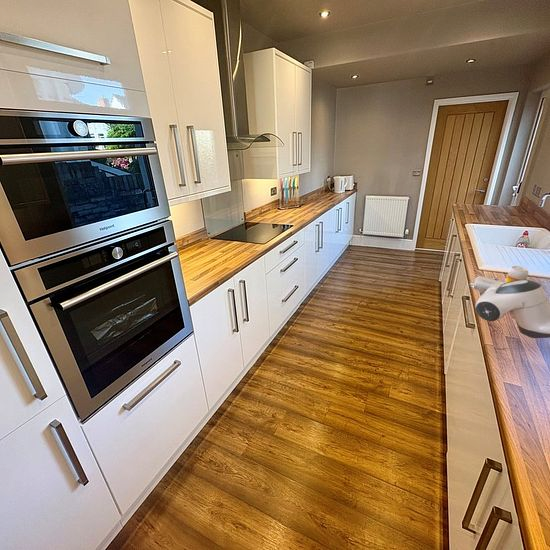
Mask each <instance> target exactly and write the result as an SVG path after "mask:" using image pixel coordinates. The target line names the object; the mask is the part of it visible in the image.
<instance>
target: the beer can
mask: <svg viewBox="0 0 550 550" xmlns="http://www.w3.org/2000/svg"><path fill="white" fill-rule="evenodd" d="M528 276H529V269H528V268H526V267H523V266H519V265H518V266H517V265H513V266H511V267H510V268H509V270H508V273H507V274H506V278H505V281H504V283H507V282H510V281H515V280H521V279H525V280H527V278H528Z"/></svg>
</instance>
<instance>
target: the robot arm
mask: <svg viewBox="0 0 550 550" xmlns="http://www.w3.org/2000/svg"><path fill="white" fill-rule="evenodd" d="M469 286H470V287H472V289H473V290H474V291H477V292H480V293H482V294H481V295H480V296H479V298H477V300H476V302H475V305H474V308H475V313H476V314H477V315H478V316H479V317H480V318H481V319H482V320H484V321H487V322H497V321H499V320H501V319H502V318H504V317H505V315H506V314H507V313H508V312H511V313H512V316H513V318H514V320H515V323H516V326H517V328H518V331H519V333H520V334H522V335H524V336H525V337H528V338H531V339H547V338H550V301H549V299H548V296H547V294H546V292H545V290H544V288H543V286H542V285H541V284H540V283H539V282H536V281H534V280H530V279H526V280H525V279H521V280H515V281H510V282H507V283H505V281H500V280H499V278H498V277H493V278H490V277H486V276H484V275H477V276H476V277H475V279H474V281H472V282H470V283H469Z"/></svg>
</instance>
